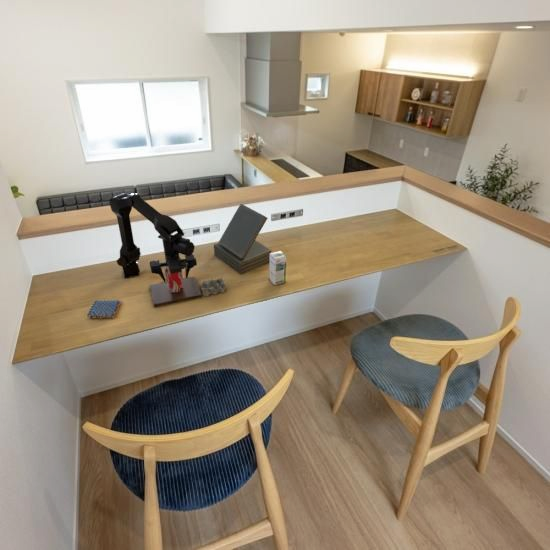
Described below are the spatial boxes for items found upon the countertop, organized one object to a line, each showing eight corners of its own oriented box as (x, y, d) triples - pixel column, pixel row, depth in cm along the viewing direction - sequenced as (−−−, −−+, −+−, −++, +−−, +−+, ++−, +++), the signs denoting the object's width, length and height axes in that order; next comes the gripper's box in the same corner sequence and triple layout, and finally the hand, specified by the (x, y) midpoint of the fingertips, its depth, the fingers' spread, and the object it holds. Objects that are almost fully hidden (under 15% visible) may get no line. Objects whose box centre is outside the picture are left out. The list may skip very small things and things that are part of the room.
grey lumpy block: (203, 297, 158) (202, 290, 156) (199, 287, 164) (198, 280, 162) (226, 292, 162) (226, 285, 160) (222, 283, 168) (222, 275, 165)
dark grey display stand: (214, 254, 188) (210, 210, 174) (244, 243, 199) (243, 200, 185) (240, 274, 174) (239, 227, 160) (271, 260, 185) (272, 215, 171)
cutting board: (154, 307, 152) (153, 304, 151) (150, 287, 163) (149, 284, 163) (201, 297, 158) (201, 294, 158) (194, 278, 170) (194, 276, 169)
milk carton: (274, 285, 167) (275, 258, 159) (268, 279, 172) (269, 252, 163) (285, 282, 169) (287, 256, 161) (279, 276, 174) (280, 249, 166)
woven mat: (114, 318, 145) (113, 314, 144) (87, 319, 144) (85, 315, 143) (121, 302, 154) (120, 298, 153) (95, 303, 153) (94, 299, 152)
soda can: (180, 294, 157) (177, 271, 150) (165, 292, 158) (161, 269, 151) (186, 285, 163) (183, 263, 156) (172, 283, 164) (168, 260, 157)
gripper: (149, 262, 140) (156, 294, 148) (197, 254, 146) (201, 285, 154) (146, 249, 148) (152, 280, 157) (192, 241, 154) (195, 272, 163)
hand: (175, 279), depth 158 cm, fingers open, 9 cm apart
